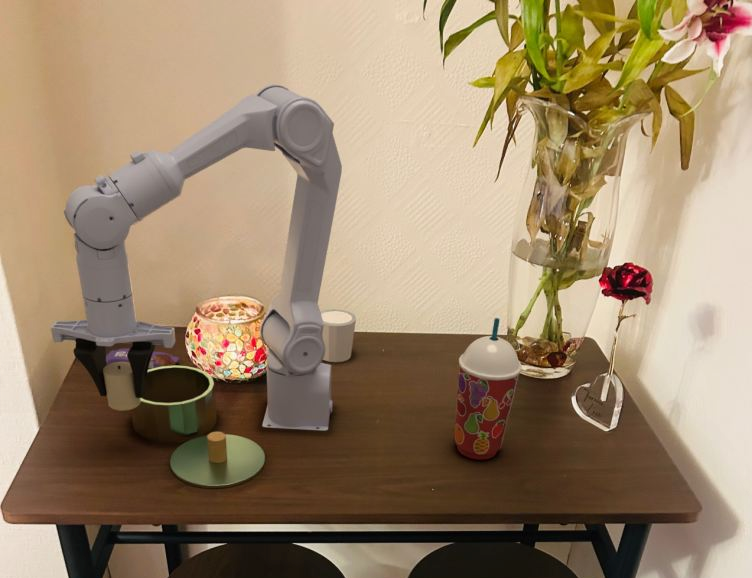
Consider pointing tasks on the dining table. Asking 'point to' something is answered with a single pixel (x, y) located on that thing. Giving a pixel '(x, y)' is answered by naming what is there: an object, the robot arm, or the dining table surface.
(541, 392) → the dining table surface
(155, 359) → the snack package
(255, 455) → the tin lid
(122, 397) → the candle
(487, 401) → the smoothie
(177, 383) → the tin
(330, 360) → the white cup
